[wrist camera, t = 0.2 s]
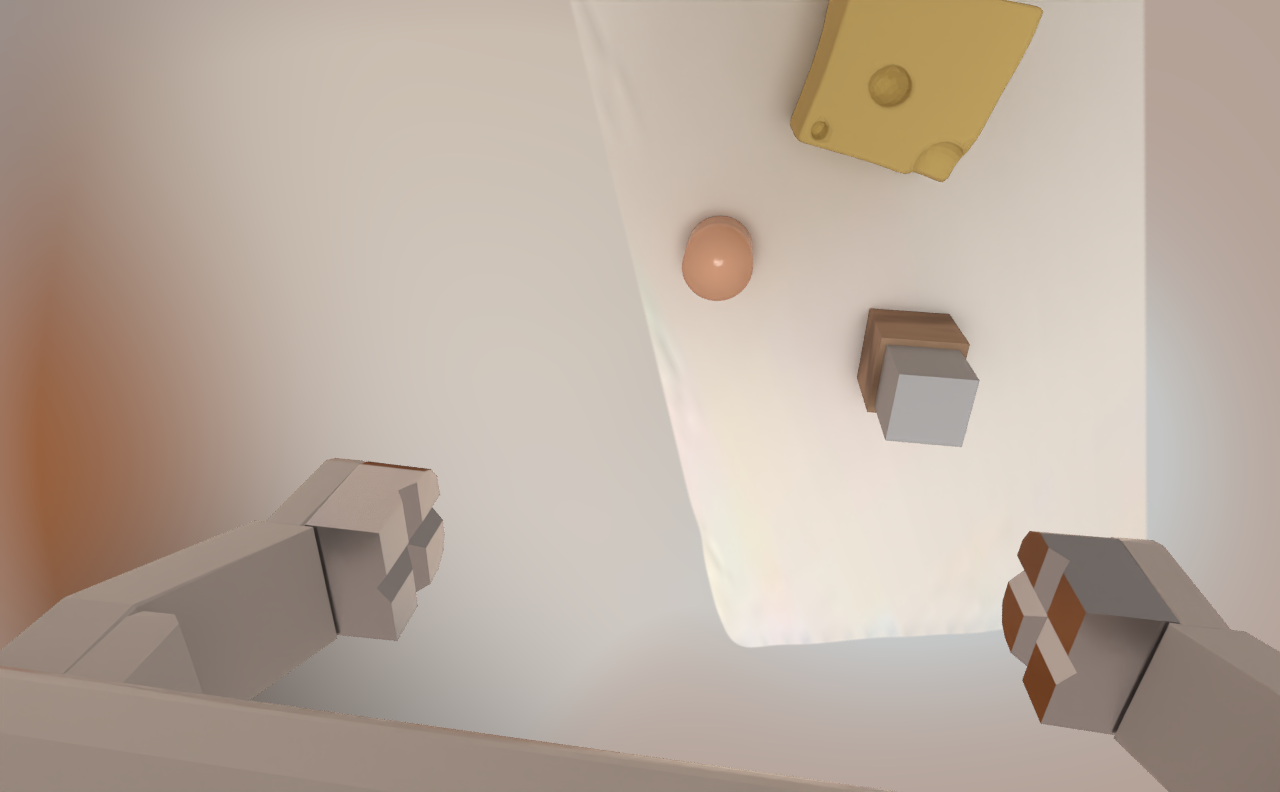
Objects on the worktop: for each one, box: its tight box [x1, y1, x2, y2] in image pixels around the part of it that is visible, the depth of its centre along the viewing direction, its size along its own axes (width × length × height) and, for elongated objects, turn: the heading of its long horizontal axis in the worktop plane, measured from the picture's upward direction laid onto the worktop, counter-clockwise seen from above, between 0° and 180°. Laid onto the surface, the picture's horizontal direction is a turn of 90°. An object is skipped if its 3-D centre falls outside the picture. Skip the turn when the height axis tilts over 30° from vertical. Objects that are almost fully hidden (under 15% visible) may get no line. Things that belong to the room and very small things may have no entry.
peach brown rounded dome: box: [682, 216, 753, 301], centre depth 54 cm, size 5×5×5 cm
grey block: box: [875, 344, 979, 447], centre depth 50 cm, size 5×5×5 cm
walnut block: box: [857, 309, 970, 413], centre depth 55 cm, size 6×6×6 cm
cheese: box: [790, 0, 1043, 182], centre depth 45 cm, size 10×11×10 cm
